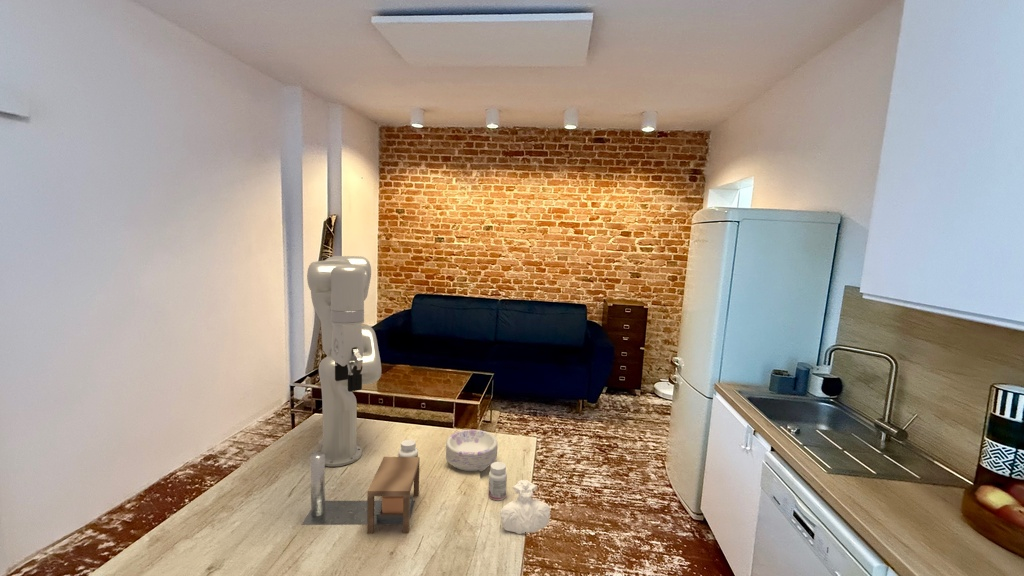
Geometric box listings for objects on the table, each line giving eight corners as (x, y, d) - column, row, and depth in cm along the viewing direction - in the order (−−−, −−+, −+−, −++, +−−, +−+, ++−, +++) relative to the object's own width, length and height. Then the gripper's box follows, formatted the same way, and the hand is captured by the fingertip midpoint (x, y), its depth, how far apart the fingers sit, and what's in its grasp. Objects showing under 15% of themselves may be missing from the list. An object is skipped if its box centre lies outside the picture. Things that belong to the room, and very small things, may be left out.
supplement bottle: (412, 481, 117) (413, 448, 116) (394, 478, 118) (395, 445, 117) (420, 471, 122) (421, 439, 121) (403, 469, 123) (403, 437, 122)
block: (382, 518, 99) (382, 498, 98) (386, 505, 104) (387, 486, 103) (403, 518, 99) (403, 498, 99) (407, 505, 104) (407, 486, 104)
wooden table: (328, 552, 89) (327, 502, 88) (360, 489, 112) (360, 449, 111) (468, 550, 91) (469, 502, 90) (471, 489, 114) (472, 449, 113)
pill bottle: (487, 490, 114) (488, 460, 113) (505, 490, 114) (506, 460, 114) (488, 501, 109) (489, 470, 108) (506, 500, 110) (508, 470, 109)
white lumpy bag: (548, 531, 102) (542, 480, 108) (555, 530, 95) (549, 476, 101) (498, 536, 100) (496, 483, 105) (503, 534, 93) (500, 479, 99)
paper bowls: (463, 485, 116) (464, 458, 115) (436, 462, 128) (436, 437, 127) (507, 468, 125) (508, 443, 125) (478, 448, 137) (478, 424, 136)
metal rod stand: (301, 528, 96) (300, 465, 94) (317, 504, 105) (316, 445, 103) (408, 528, 97) (409, 465, 96) (415, 504, 106) (415, 446, 105)
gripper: (321, 313, 108) (322, 378, 109) (343, 323, 94) (343, 398, 96) (351, 311, 112) (351, 374, 114) (376, 320, 99) (376, 392, 101)
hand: (348, 385), depth 105 cm, fingers open, 9 cm apart
